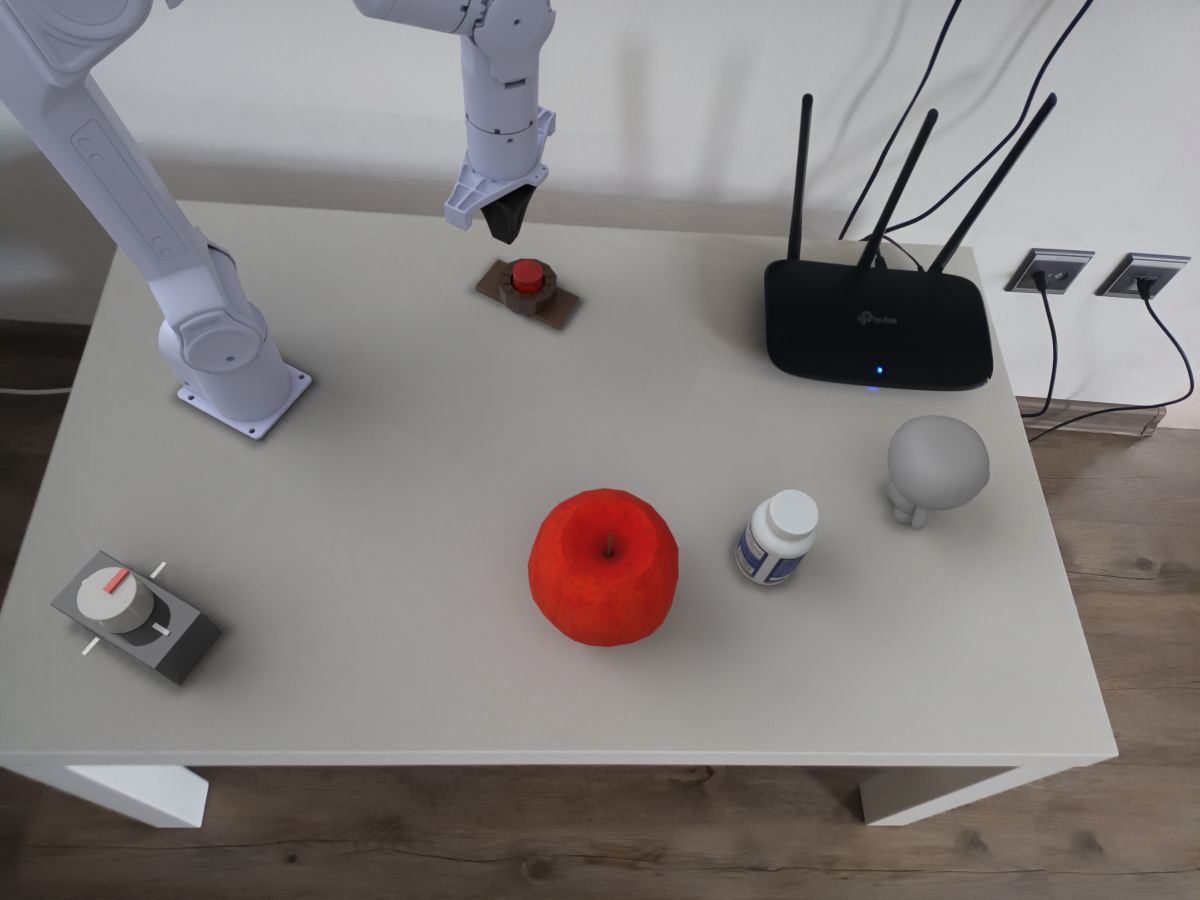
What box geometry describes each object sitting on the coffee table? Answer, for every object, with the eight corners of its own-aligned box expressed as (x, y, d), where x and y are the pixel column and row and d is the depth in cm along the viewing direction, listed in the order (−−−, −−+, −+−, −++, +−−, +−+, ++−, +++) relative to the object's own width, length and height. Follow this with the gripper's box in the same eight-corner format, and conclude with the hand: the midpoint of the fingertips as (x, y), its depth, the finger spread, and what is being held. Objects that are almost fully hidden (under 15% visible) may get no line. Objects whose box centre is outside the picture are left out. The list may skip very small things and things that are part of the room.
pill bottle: (799, 541, 73) (834, 493, 65) (786, 595, 71) (821, 552, 62) (741, 522, 74) (769, 471, 66) (727, 574, 71) (753, 528, 63)
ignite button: (507, 286, 83) (507, 274, 81) (522, 267, 84) (522, 255, 83) (532, 298, 82) (533, 286, 81) (547, 279, 84) (548, 267, 82)
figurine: (947, 544, 75) (1016, 483, 64) (869, 550, 74) (926, 490, 63) (920, 467, 78) (980, 398, 68) (845, 472, 78) (895, 404, 67)
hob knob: (126, 643, 60) (105, 628, 57) (84, 617, 60) (61, 601, 57) (166, 597, 61) (147, 581, 58) (124, 573, 62) (104, 555, 59)
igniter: (471, 295, 85) (470, 278, 83) (501, 259, 87) (501, 242, 85) (555, 335, 83) (556, 319, 81) (583, 297, 86) (584, 281, 84)
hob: (65, 641, 64) (30, 621, 60) (141, 557, 68) (114, 532, 64) (164, 705, 62) (136, 688, 58) (237, 615, 66) (216, 593, 62)
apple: (681, 655, 67) (713, 601, 56) (542, 685, 65) (546, 635, 54) (645, 527, 73) (668, 454, 61) (516, 551, 71) (514, 480, 59)
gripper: (496, 185, 59) (500, 306, 71) (590, 79, 66) (580, 206, 78) (415, 148, 61) (432, 273, 72) (515, 48, 68) (516, 177, 79)
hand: (504, 236), depth 75 cm, fingers closed
